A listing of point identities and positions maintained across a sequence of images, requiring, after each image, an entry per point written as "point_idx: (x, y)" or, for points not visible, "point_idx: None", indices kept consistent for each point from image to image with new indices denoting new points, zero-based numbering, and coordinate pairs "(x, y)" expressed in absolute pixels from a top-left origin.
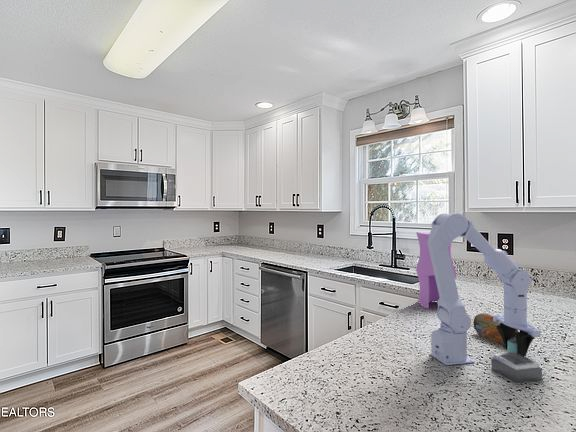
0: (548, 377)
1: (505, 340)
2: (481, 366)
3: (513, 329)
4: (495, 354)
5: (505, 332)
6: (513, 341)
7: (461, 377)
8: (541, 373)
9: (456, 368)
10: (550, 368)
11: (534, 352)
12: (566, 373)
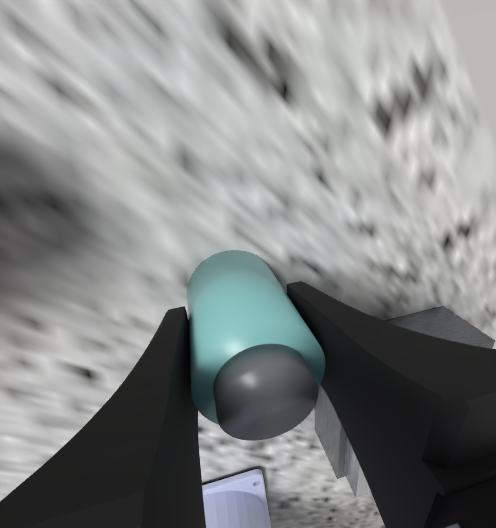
0: (441, 263)
1: (197, 422)
2: (289, 450)
3: (167, 489)
4: (357, 492)
5: (202, 520)
6: (289, 418)
7: (343, 503)
8: (469, 326)
9: (290, 508)
10: (381, 166)
11: (85, 14)
12: (456, 119)
